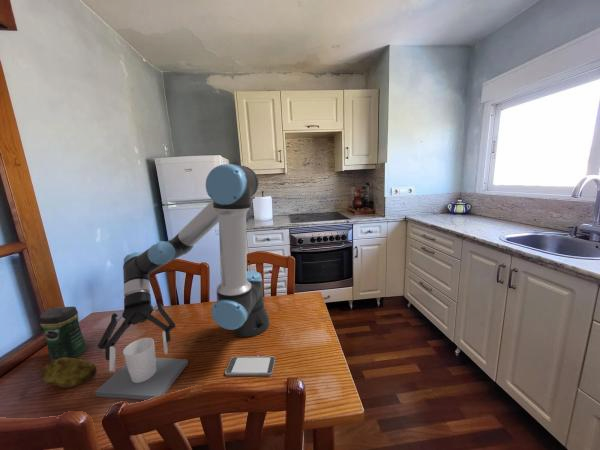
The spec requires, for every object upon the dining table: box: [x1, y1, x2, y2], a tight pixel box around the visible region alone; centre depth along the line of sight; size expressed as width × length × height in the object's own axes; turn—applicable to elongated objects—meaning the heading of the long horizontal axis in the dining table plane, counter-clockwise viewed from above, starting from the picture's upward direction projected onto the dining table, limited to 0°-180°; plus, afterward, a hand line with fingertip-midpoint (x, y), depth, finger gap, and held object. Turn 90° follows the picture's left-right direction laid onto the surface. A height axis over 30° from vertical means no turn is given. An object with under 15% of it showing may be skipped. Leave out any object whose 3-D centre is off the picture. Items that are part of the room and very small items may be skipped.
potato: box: [40, 357, 97, 388], centre depth 75 cm, size 8×13×8 cm, turn 82°
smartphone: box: [224, 356, 276, 377], centre depth 78 cm, size 7×1×15 cm
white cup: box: [122, 337, 157, 383], centre depth 74 cm, size 8×8×10 cm
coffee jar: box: [38, 306, 87, 362], centre depth 86 cm, size 10×8×19 cm
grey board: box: [94, 357, 189, 401], centre depth 75 cm, size 20×14×2 cm
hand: (140, 362), depth 72 cm, fingers open, 13 cm apart
